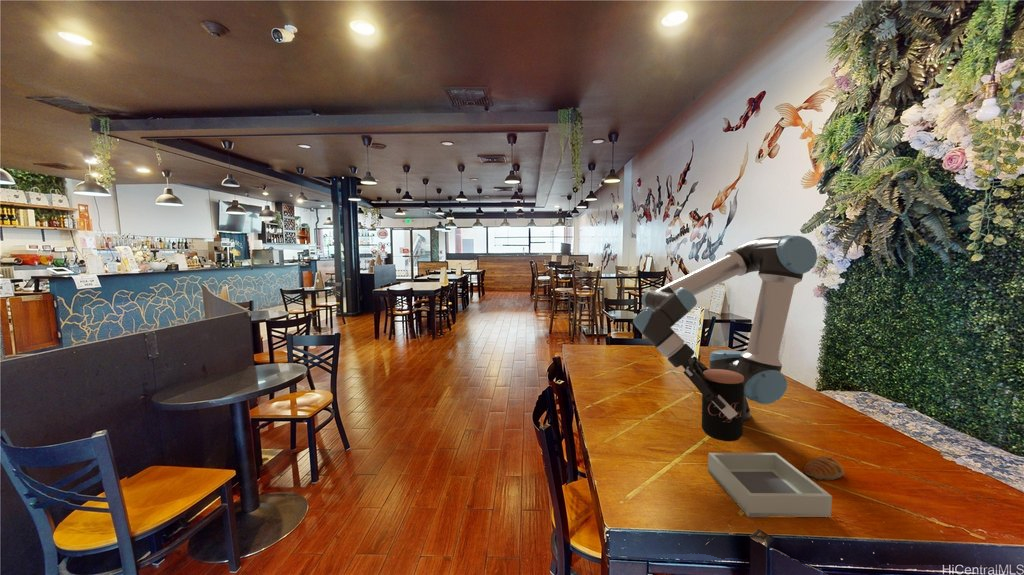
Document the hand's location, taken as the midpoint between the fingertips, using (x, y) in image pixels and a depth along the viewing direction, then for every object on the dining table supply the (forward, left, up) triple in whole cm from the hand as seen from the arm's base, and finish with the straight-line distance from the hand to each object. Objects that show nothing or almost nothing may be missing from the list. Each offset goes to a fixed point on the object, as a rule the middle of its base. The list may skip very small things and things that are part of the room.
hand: (733, 408), depth 107 cm
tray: (+2, +18, -14) cm, 22 cm away
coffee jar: (+2, -1, -8) cm, 9 cm away
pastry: (-19, +10, -14) cm, 25 cm away
